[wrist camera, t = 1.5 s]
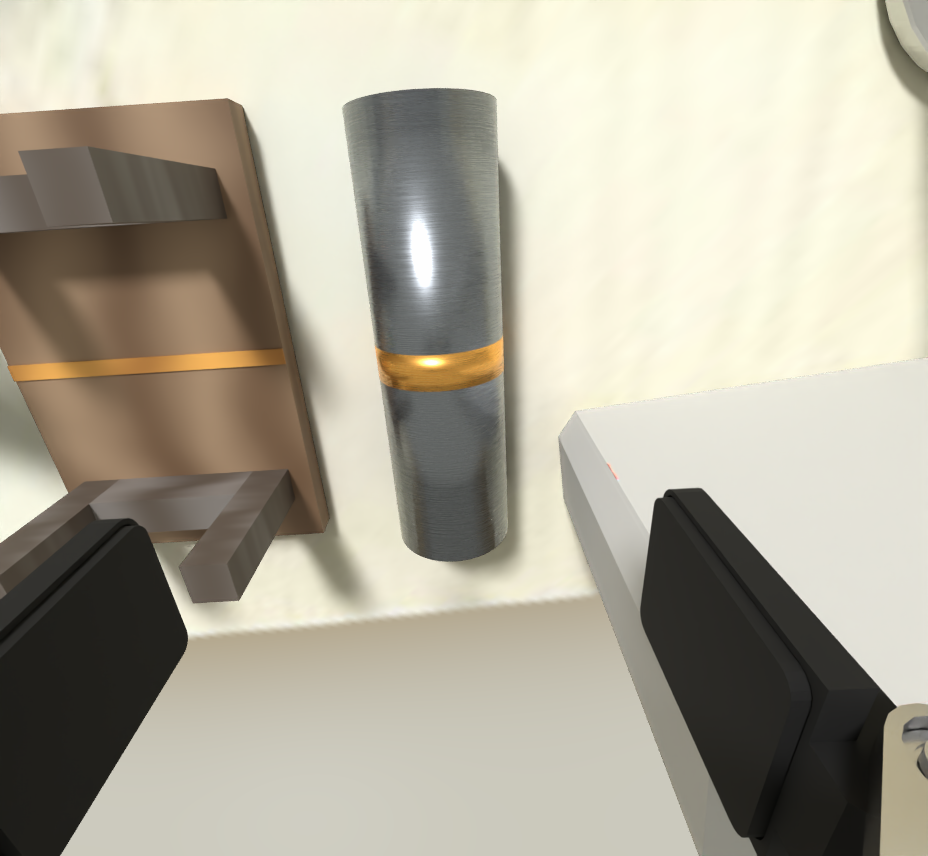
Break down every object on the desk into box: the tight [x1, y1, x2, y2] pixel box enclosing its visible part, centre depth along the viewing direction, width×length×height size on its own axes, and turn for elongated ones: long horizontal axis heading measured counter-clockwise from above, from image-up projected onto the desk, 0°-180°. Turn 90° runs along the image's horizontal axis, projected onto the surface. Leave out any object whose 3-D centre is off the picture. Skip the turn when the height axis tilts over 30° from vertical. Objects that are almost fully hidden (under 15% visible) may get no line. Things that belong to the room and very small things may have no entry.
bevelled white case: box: [558, 357, 928, 856], centre depth 20 cm, size 21×8×20 cm, turn 99°
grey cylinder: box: [342, 88, 508, 562], centre depth 23 cm, size 6×20×6 cm, turn 3°
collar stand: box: [0, 98, 329, 603], centre depth 22 cm, size 14×22×10 cm, turn 3°
